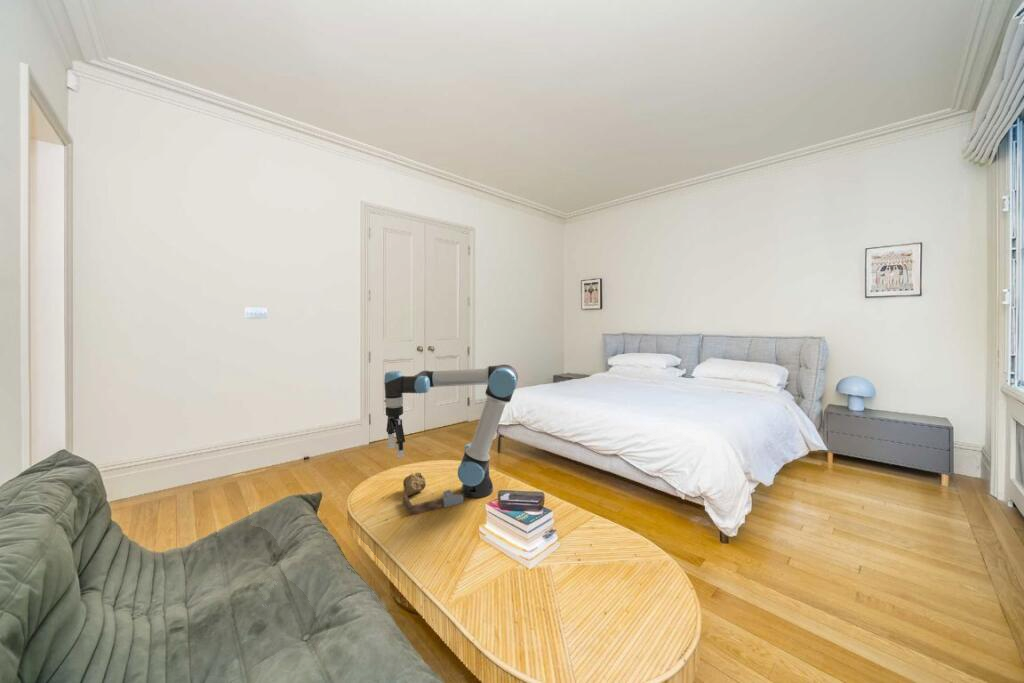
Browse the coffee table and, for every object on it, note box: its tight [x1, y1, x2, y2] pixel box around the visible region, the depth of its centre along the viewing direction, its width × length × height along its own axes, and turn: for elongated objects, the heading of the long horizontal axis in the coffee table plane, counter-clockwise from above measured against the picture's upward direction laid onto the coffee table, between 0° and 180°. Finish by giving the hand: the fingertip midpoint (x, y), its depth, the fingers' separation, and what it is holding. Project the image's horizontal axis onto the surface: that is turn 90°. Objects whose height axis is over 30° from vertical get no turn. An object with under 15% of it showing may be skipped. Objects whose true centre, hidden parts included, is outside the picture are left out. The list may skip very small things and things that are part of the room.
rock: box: [402, 472, 427, 497], centre depth 187 cm, size 12×10×10 cm
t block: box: [442, 489, 464, 508], centre depth 180 cm, size 9×9×3 cm
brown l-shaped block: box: [402, 494, 444, 516], centre depth 176 cm, size 15×12×4 cm
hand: (396, 452), depth 177 cm, fingers open, 13 cm apart
